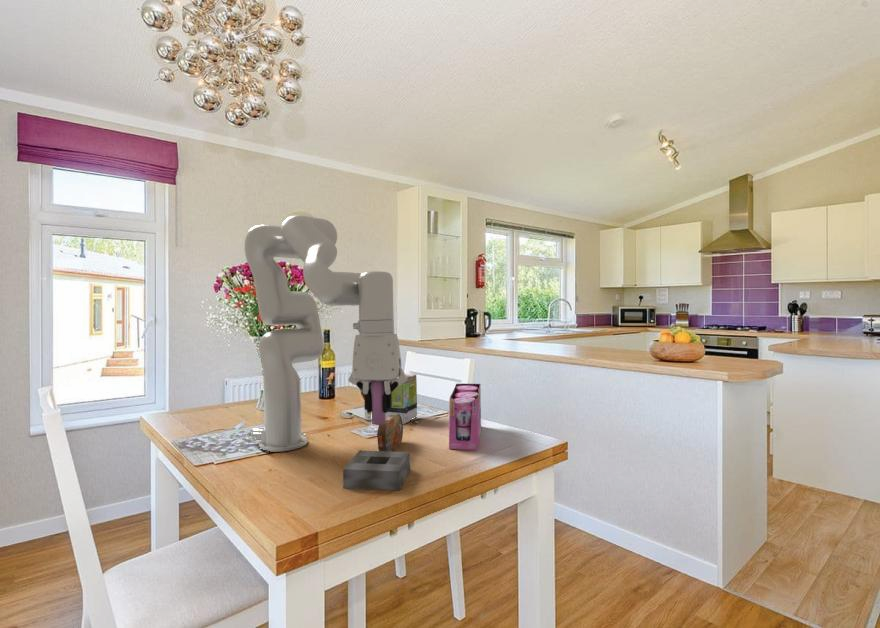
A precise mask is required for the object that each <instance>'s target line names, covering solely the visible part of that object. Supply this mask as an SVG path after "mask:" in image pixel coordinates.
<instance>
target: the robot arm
mask: <svg viewBox="0 0 880 628" xmlns="http://www.w3.org/2000/svg"><path fill="white" fill-rule="evenodd" d="M337 240H338V232H337V229H336V227H335V226H334V224H333V223H332V222H331V221H330V220H328V219H324V218H320V217H313V216H308V215H301V214H300V215H297V214H296V215H291V216H288V217H287V218H286V219H285V220H283V222H282V223H281V225H273V224H258V225H254V226H252V227H251V228H250V229H249V230H248V231H247V233H246V235H245V239H244V255H245V259H246V262H247V265H248V268H249V269H250V271H251V274H252V275H251V276H252V277H253V281H254V288H255V294H256V299H257V305H258V313H259V317H260V320H261V322H263V323H264V324H265V325H267V326H289V325H290V326H291V325H292V326H293V325H295V326H296V328H285V329H283V328H282V329H274V330H271V331H268V332H266V333H264V334H263V335H262V336H261V338H260V339H259V342H258V351H259V353H258V354H259V357H260V361H261V367H262V376H263V377H262V379H263V406H264V407H263V412H264V418H263V419H264V420H263V421H264V428H263V429H261V428H253V429H252V432H251V437H252V438H255V439H256V438H260V441H259V442H258V448H259V447H260V448H261V449H264V450H269V451H270V452H271V453H278V452H279V453H281V452H289V451H294V450H298V449H300V448H303V447H305V446H306V445H308V438H307V436H305V435H303V434H302V398H301V397H302V391H301V389H302V388H301V379H300V375H299V374H298V372H297V370H296V368H295V367H294V366H293V365H294V364H297V363H306V362H313V361H316V360H318V359H319V358H320V357H321V355H322V354H323V351H324V338H323V331H322V328H321V327H322V326H321V320H320V313H319V309H318V305H317V303H316V300H315V299H314V297H313V296H312V295H311V294H309V292H305V291H295V290H294V291H291V289H290V288H289V285H288V279H287V275H286V273H285V271H284V270H283V268H282V266H281V265H280V264H279V263H278V262H277V261H276V260H275V258H284V259H285V258H286V259H298V260H299V259H301V260H302V262H303V263H304V264H303V267H302V274H303V279H304V280H303V281H304V284H305V285H306V287H307V288H308V290H309V291H310V292H311V293H312V294H313V295H314V296H315V298H316V299H317V300H318V301H320V302H321V303H323V304H325V305H327V306H331V307H332V306H334V307H335V306H339V307H340V306H341V307H342V306H353V307H356V306H357V307H358V317H359V318H358V319H359V320H357V322H356V323H355V322H354V323H352V327H353V329H354V330H357V331H358V334H355V337H354V341H353V342H354V343H353V351H352V352H353V353H352V365H351V366H352V369H351V370H352V372H351V373H350V375H349V377H348V382H349V383H351V384H352V385H355V386H356V387H357V388H359V391H361V392H362V394H363V395H364V394H365V408H367V413H370V412H371V411H372V409H371V381H384V387H385V392H384V395H383V412H384V413H387V412H388V411H389V409H390V408H391V407H392V394H391V393H392V392H393V390H394V389H395V388H396V387H397V386H399V385H401V384H403V383H405V382H406V381H407V377H406V375H405V374H406V372H404V369H403V368H402V358H401V349H400V342H399V337H398V334H397V333H395V325H394V324H395V322H394V321H395V319H394V317H395V316H394V279H393V275H392V274H391V273H390V272H387V271H381V270H380V271H376V270H375V271H363V272H362V273H360V272H350V271H349V272H348V271H345V272H343V271H332V270H331V269H329V268H330V267H331V266H332V265H334V262H335V261H336V259H337V256H338V250H337V247H336V245H337V242H338V241H337ZM397 377H399V379H398V380H396V381H395V382H392V380H395V379H396V378H397ZM260 448H259V449H260ZM261 449H260V450H261ZM269 451H268V452H269Z"/></svg>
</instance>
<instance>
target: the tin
mask: <svg viewBox="0 0 880 628" xmlns="http://www.w3.org/2000/svg"><path fill="white" fill-rule="evenodd" d="M385 422H386V423H385V424H381V425H378V428H377V433H376V436H377V449H378V451H391V452H396V450H397V448H399V447H400V445H401V444H402V440H403V433H404V426H403V425H404V424H403V423H402V418H401V416H400V415H399V414H397V415H389V416H388V417H387V418H386V419H385Z"/></svg>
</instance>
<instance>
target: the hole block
mask: <svg viewBox="0 0 880 628" xmlns="http://www.w3.org/2000/svg"><path fill="white" fill-rule="evenodd" d="M410 471H411V451H394V452H391V451H379V450H361V449H360V450H359V451H358V452H357V453H356V454H355V455H354V456H353V458H352V459H351V460H350V461H349V462H348V463H347V464H346V465H345V467H344V468H342V484H343V485H342V486H343V487H342V488H343V489H357V490H358V489H359V490H360V489H361V490H381V491H382V490H383V491H400V490H401V487H402V486H403V484H404V482H405V480H406V478H407V476H408V475H409V472H410Z"/></svg>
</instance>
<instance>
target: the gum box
mask: <svg viewBox="0 0 880 628" xmlns="http://www.w3.org/2000/svg"><path fill="white" fill-rule="evenodd" d="M481 385H482V384H481V383H456V384H455V385H454V386H455V387H454V388H453V391H452V392H451V395H450V397H449V404H448V405H449V407H448V410H449V419H448V420H449V422H448V423H449V425H448V428H449V429H448V450H460V451H461V450H464V451H465V450H467V451H469V450H470V451H478V450H479V443H480V439H481V438H480V436H481V430H482V408H481V405H482V403H481V397H482V395H481V391H482V389H481Z"/></svg>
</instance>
